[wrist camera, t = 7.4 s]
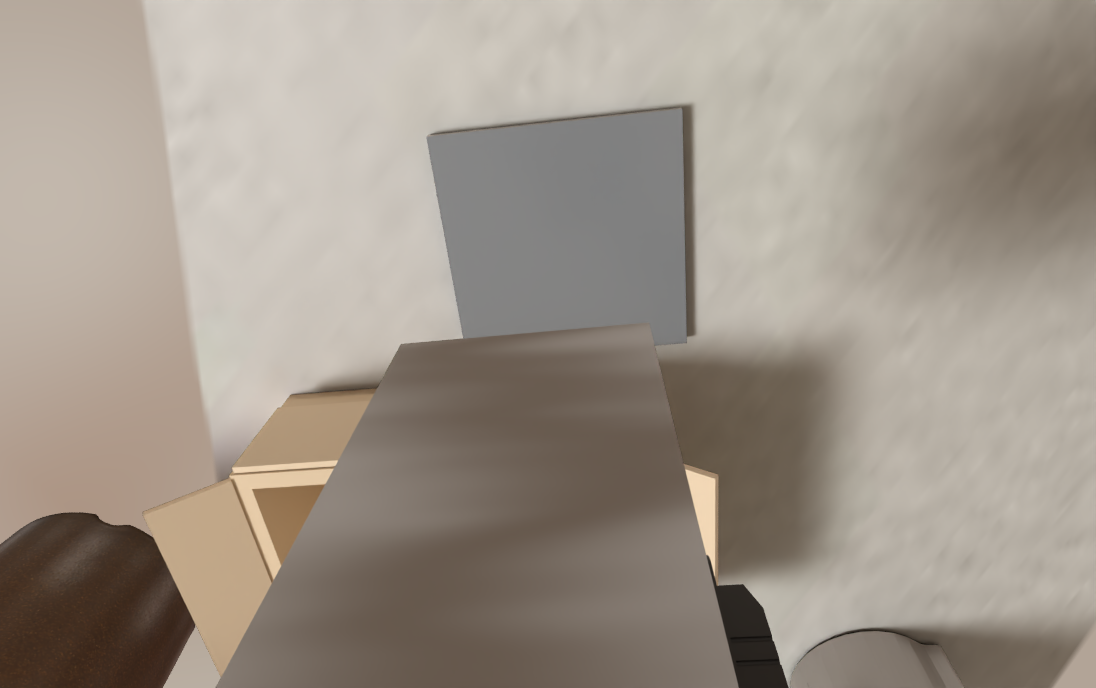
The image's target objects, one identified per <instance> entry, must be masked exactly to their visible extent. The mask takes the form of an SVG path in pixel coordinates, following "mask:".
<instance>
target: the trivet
mask: <svg viewBox="0 0 1096 688" xmlns="http://www.w3.org/2000/svg"><path fill="white" fill-rule="evenodd" d="M427 143H428V148H429V154H430V159H431V165H432V170H433V176H434V181H435V186H436V192H437V197H438V203H439V208H440V214H441V219H442V225H443V230H444V236H445V241H446V246H447V252H448V257H449V263H450V268H451V274H452V279H453V285H454V290H455V296H456V301H457V306H458V312H459V317H460V323H461V328H462V334H463V339H465V338H477V337H488V336H500V335H511V334H522V333H534V332H545V331H557V330H568V329H580V328H591V327H603V326H614V325H625V324H637V323H648V322H649V324H650V328H651V333H652V337H653V341H654V345H667V344H680V343H687V329H686V275H685V222H684V168H683V115H682V108H681V107H678V108H669V109H659V110H650V111H641V112H632V113H623V114H614V115H605V116H596V117H586V118H577V119H568V120H559V121H550V122H541V123H532V124H522V125H513V126H504V127H495V128H486V129H477V130H468V131H458V132H449V133H440V134H431V135H428V136H427Z"/></svg>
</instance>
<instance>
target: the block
mask: <svg viewBox="0 0 1096 688" xmlns="http://www.w3.org/2000/svg"><path fill="white" fill-rule="evenodd" d="M216 688H739V687H738V682H737V678H736V674H735V670H734V666H733V662H732V658H731V654H730V650H729V646H728V642H727V638H726V634H725V630H724V625H723V621H722V617H721V613H720V609H719V605H718V601H717V597H716V593H715V589H714V585H713V581H712V577H711V573H710V569H709V564H708V560H707V556H706V552H705V548H704V544H703V540H702V536H701V532H700V528H699V524H698V520H697V516H696V512H695V507H694V503H693V499H692V495H691V491H690V487H689V483H688V479H687V475H686V471H685V467H684V463H683V459H682V455H681V451H680V446H679V442H678V438H677V434H676V430H675V426H674V422H673V418H672V414H671V410H670V406H669V402H668V398H667V394H666V389H665V385H664V381H663V377H662V373H661V369H660V365H659V361H658V357H657V353H656V349H655V345H654V341H653V337H652V333H651V328H650V324H649V322H648V323H637V324H625V325H614V326H603V327H591V328H580V329H568V330H557V331H545V332H534V333H522V334H511V335H500V336H488V337H477V338H465V339H454V340H442V341H431V342H419V343H408V344H401V345H400V347H399V349H398V351H397V353H396V354H395V356H394V358H393V360H392V362H391V364H390V365H389V367H388V369H387V371H386V373H385V375H384V377H383V378H382V380H381V382H380V384H379V386H378V388H377V390H376V391H375V393H374V395H373V397H372V399H371V401H370V403H369V404H368V406H367V408H366V410H365V412H364V414H363V416H362V417H361V419H360V421H359V423H358V425H357V427H356V428H355V430H354V432H353V434H352V436H351V438H350V440H349V441H348V443H347V445H346V447H345V449H344V451H343V453H342V454H341V456H340V458H339V460H338V462H337V464H336V466H335V467H334V469H333V471H332V473H331V475H330V477H329V479H328V480H327V482H326V484H325V486H324V488H323V490H322V491H321V493H320V495H319V497H318V499H317V501H316V503H315V504H314V506H313V508H312V510H311V512H310V514H309V516H308V517H307V519H306V521H305V523H304V525H303V527H302V529H301V530H300V532H299V534H298V536H297V538H296V540H295V542H294V543H293V545H292V547H291V549H290V551H289V553H288V554H287V556H286V558H285V560H284V562H283V564H282V566H281V567H280V569H279V571H278V573H277V575H276V577H275V579H274V580H273V582H272V584H271V586H270V588H269V590H268V592H267V593H266V595H265V597H264V599H263V601H262V603H261V605H260V606H259V608H258V610H257V612H256V614H255V616H254V617H253V619H252V621H251V623H250V625H249V627H248V629H247V630H246V632H245V634H244V636H243V638H242V640H241V642H240V643H239V645H238V647H237V649H236V651H235V653H234V655H233V656H232V658H231V660H230V662H229V664H228V666H227V668H226V669H225V671H224V673H223V675H222V677H221V679H220V681H219V682H218V684H217V686H216Z"/></svg>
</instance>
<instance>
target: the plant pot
mask: <svg viewBox="0 0 1096 688" xmlns="http://www.w3.org/2000/svg"><path fill="white" fill-rule="evenodd" d="M194 628H195V623H194V620H193V618H192V616H191V614H190V612H189V610H188V608H187V606H186V604H185V602H184V600H183V598H182V596H181V593H180V591H179V589H178V587H177V585H176V583H175V581H174V579H173V577H172V575H171V573H170V571H169V569H168V567H167V564H166V562H165V560H164V558H163V556H162V554H161V552H160V550H159V548H158V546H157V544H156V542H155V540H154V538H153V537H151V536H150V535H148V534H147V533H145V532H143V531H141V530H140V529H137V528H136V527H133V526H131V525H119V526H117V525H110V524H108V523H105V522H103V521H102V520H100V519H99V517H98V516H97V515H96V514H89V513H61V514H54V515H50V516H46V517H43V518H40V519H37V520H35V521H33V522H31V523H29V524H27V525H26V526H24V527H23V528H21V529H20V530H18V531H17V532H16V533H14V534H13V535H12V536H11V537H9V538H8V539H7V540H5V541H4V542H3V543H2V544H0V688H163V686H164V684H165V683H166V681H167V679H168V677H169V675H170V673H171V671H172V669H173V667H174V666H175V664H176V662H177V660H178V658H179V656H180V654H181V652H182V650H183V648H184V646H185V644H186V642H187V640H188V638H189V637H190V635H191V633H192V631H193V630H194Z"/></svg>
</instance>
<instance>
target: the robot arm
mask: <svg viewBox="0 0 1096 688" xmlns="http://www.w3.org/2000/svg"><path fill="white" fill-rule="evenodd" d="M706 556H707V560H708V564H709V569H710V573H711V577H712V581H713V585H714V589H715V593H716V597H717V601H718V605H719V609H720V613H721V617H722V621H723V625H724V630H725V634H726V638H727V642H728V646H729V650H730V654H731V658H732V662H733V666H734V670H735V674H736V678H737V682H738V687H739V688H788V685H787V681H786V678H785V675H784V672H783V669H782V666H781V665H780V662H779V656H778V653H777V650H776V647H775V644H774V641H773V640H772V635H771V631H770V628H769V625H768V622H767V619H766V616H765V613H764V609H763V607H762V606H761V605H760V604H759V603H758V601H757V600H756V599H755V598H754V597H753V595H752V594H751V593H750V592H749V591H748V590H747V588H746V587H745V586H744V585H743V584H741V585H723V586H717V584H716V580H715V576H714V572H713V568H712V564H711V560H710V557H709V556H708V555H706ZM790 688H965V687H964V685H963V684H962V682H961V680H960V679H959V677H958V675H957V673H956V672H955V670H954V668H953V667H952V665H951V663H950V661H949V660H948V658H947V656H946V655H945V653H944V651H943V650H942V648H941V646H940V645H923V644H920V643H918V642H916V641H914V640H912V639H910V638H908V637H906V636H902V635H899V634H895V633H890V632H881V631H867V632H857V633H852V634H846V635H843V636H840V637H837V638H834V639H831V640H829V641H827V642H825V643H823V644H821V645H819V646H817V647H816V648H814V649H813V650H812V651H810V652H809V653H807V654H806V655H805V656H804V657H803V658H802V660H801V661H800V662H799V663H798V664H797V666H796V668H795V669H794V671H793V673H792V677H791V681H790Z"/></svg>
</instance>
